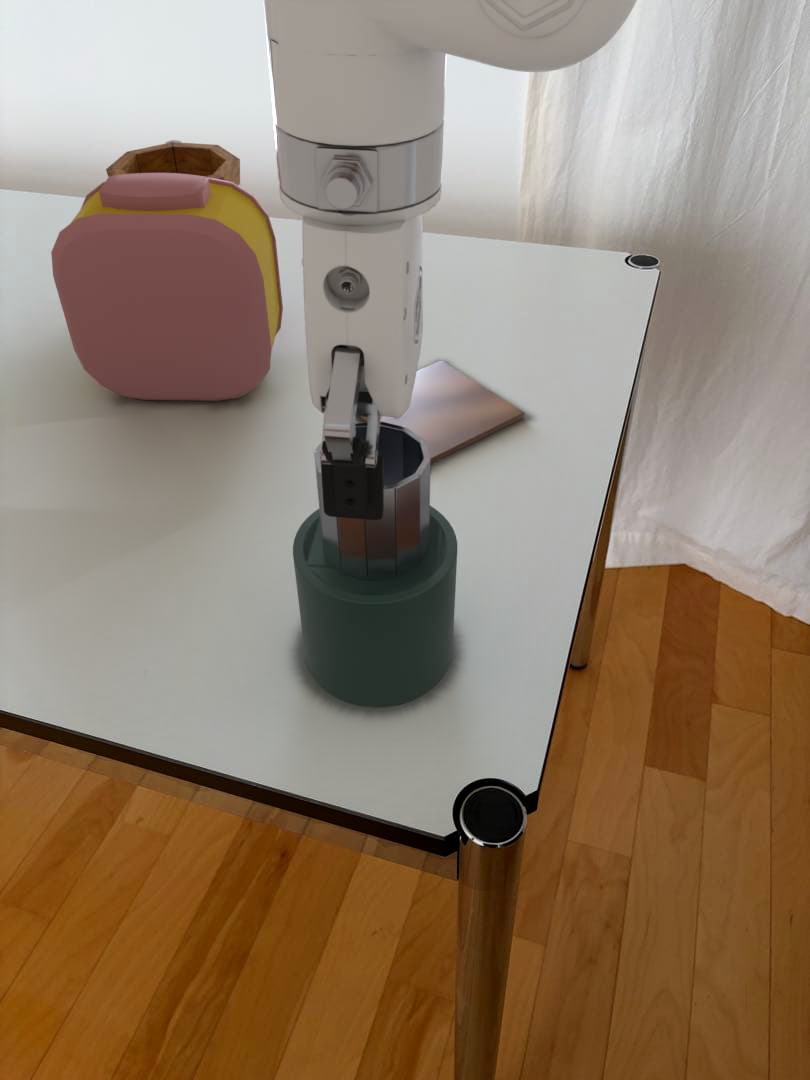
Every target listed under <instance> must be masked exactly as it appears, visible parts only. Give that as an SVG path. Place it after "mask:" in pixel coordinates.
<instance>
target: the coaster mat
mask: <svg viewBox="0 0 810 1080" xmlns="http://www.w3.org/2000/svg"><path fill="white" fill-rule="evenodd" d="M358 417H359V418H360V419H362V420H363V421H365V423H367V422H368V417H360V416H358ZM524 417H525V412H524V411H523V410H521V409H520V408H519V407H517V406H515V405H514V404H512V403H510V402H509V401H507V400H506V399H504V398H502V397H501V396H500V395H498V394H497V393H495V392H493V391H491V390H490V389H488V388H487V387H485V386H483V385H482V384H481V383H479V382H478V381H475V380H474V379H473V378H471V377H469V376H468V375H466V374H464V373H463V372H461V371H459V370H458V369H456V368H455V367H454V366H452V365H450V364H448V363H447V362H445V361H444V360H439V361H437V362H434V363H432V364H430V365H427V366H425V367H423V368H420V369H417V373H416V378H415V383H414V388H413V393H412V398H411V402H410V406H409V409H408V411H407V412H406V413H405V414H404V415H403V416H402V417H400V418H394V417H386V416H381V419H380V422H385V423H390V424H394V425H399V426H403V427H406V428H408V429H410V430H411V431H413V432H414V433H415V434H417V435H418V436H420V437H421V438H422V439H424V440H425V441H426V444H427V447H428V451H429V454H430V458H431V464H430V465H432V464H434V463H436V462H438V461H439V460H442V459H443V458H445V457H448V456H450V455H451V454H454V453H455V452H457V451H459V450H461V449H463V448H465V447H467V446H469V445H471V444H473V443H475V442H477V441H479V440H481V439H484V438H486V437H488V436H489V435H491V434H494V433H496V432H498V431H499V430H502V429H504V428H505V427H507V426H509V425H511V424H514V423H515V422H518V421H519V420H521V419H523V418H524Z"/></svg>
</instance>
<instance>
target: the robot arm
mask: <svg viewBox="0 0 810 1080" xmlns="http://www.w3.org/2000/svg"><path fill="white" fill-rule="evenodd" d="M637 1H638V0H263V8H264V10H263V11H264V22H265V23H264V24H265V33H266V46H267V47H266V48H267V59H268V70H269V83H270V93H271V106H272V119H273V130H274V141H275V143H274V144H275V155H276V165H277V178H278V191H279V198H280V201H281V202H282V204H283V205H284V206H285V207H286V208H287V209H289V210H290V211H291V212H293V213H295V214H297V215H298V216H301V221H302V222H301V223H302V226H301V228H302V229H301V231H302V258H301V266H302V275H303V276H302V278H303V280H302V281H303V282H302V283H303V306H304V307H303V309H304V324H305V325H304V329H305V330H304V332H305V346H306V361H307V362H306V363H307V373H308V383H309V391H310V397H311V398H310V399H311V402H312V405H313V406H314V407H315V408H316V409H317V411H318V412H320V413H321V414H323V424H322V435H321V442H322V449H321V457H320V459H321V474H322V489H323V504H324V512H325V514H326V515H328V516H331V517H342V518H354V519H367V520H380V519H381V518H382V516H383V511H384V456H378V445H379V432H380V419H381V416H386V417H394V418H400V417H402V416H403V415H404V414H405V413H406V412H407V411H408V409H409V406H410V402H411V398H412V393H413V388H414V383H415V378H416V373H417V371H418V367H419V361H420V355H421V349H422V343H423V333H424V309H423V307H424V306H423V305H424V304H423V303H424V300H423V299H424V298H423V274H424V273H423V269H424V267H423V264H424V263H423V259H424V257H423V256H424V255H423V251H424V250H423V249H424V248H423V246H424V245H423V241H424V240H423V239H424V236H423V234H424V233H423V214H425V213H427V212H429V211H430V210H431V209H433V208H434V207H436V206H437V205H438V203H439V202H440V201H441V197H442V184H443V183H442V180H443V159H444V158H443V156H444V131H445V119H444V118H445V102H446V101H445V98H446V97H445V96H446V74H447V73H446V71H447V55H450V56H454V57H457V58H460V59H464V60H468V61H472V62H475V63H478V64H482V65H485V66H491V67H493V68H499V69H504V70H508V71H514V72H523V73H546V72H547V73H548V72H554V71H558V70H562V69H567V68H569V67H571V66H574V65H576V64H578V63H580V62H583V61H585V60H587V59H588V58H590V57H592V56H593V55H595V54H596V53H597V52H598V51H600V50H601V49H602V48H604V47H605V46H606V45H607V44H608V43H609V42H610V41H611V40H612V39H613V38H614V37H615V35H616V34H617V33H618V32H619V30H620V29H621V28H622V26H623V25H624V24H625V22H626V21H627V19H628V18H629V17H630V14H631V13H632V11H633V9H634V7H635V5H636V3H637ZM359 416H360V417H359ZM357 417H359V418H361V417H368V422H366V423H367V435H366V443H365V441H364V440H363V439H362V437H355V436H356V427H355V424H356V419H357Z"/></svg>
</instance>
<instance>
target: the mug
mask: <svg viewBox="0 0 810 1080" xmlns="http://www.w3.org/2000/svg"><path fill="white" fill-rule="evenodd" d="M105 172H106V175H107V178H108V177H109V176H113V175H123V174H136V173H178V174H191V175H198V176H205V177H206V178H214V179H219V180H224V181H229V182H233V183H235V184H236V185H238V186H239V187H241V159H240V158H239V157H238V156H236V155H235V154H233V153H231V152H229V150H227V149H225V148H223V147H222V146H221V145H219V144H212V143H211V144H210V143H195V142H194V143H193V142H182V141H181V140H177V139H171V140H168V141H166V142H164V143H162V144H157V145H152V146H148V147H143V148H138V149H132V150H127V151H126V152H124V153H123V154H121V156H119V157H118V158H117V159H116V160H115V161H113V163H112V164H111V165H109V166H108V167H107V168H106V169H105Z"/></svg>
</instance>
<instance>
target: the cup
mask: <svg viewBox="0 0 810 1080" xmlns="http://www.w3.org/2000/svg"><path fill="white" fill-rule="evenodd" d="M355 427H356V436H355V437H362V439H363V440H364V441H365V443H366V435H367V422H358V423H356V422H355ZM321 449H322V441H320V443H319V444H318V446H317V447H316V448H315V450H314V452H313V455H314V456H313V457H314V467H315V477H316V490H317V500H318V509H319V513H320V524H321V535H322V544H323V552H324V555H325V557H326V558H327V560H328V561H329V563H330V564H331V565H332V566H333V567H334V568H336V569H337V570H338V571H340V572H342V573H344V574H346V575H348V576H351V577H354V578H358V579H364V580H384V579H390V578H393V577H397V576H400V575H402V574H404V573H406V572H408V571H410V570H411V569H413V568H414V567H415V566H416V565H418V564H419V562H420V561H421V560H422V559H423V557H424V555H425V553H426V550H427V547H428V545H429V514H430V506H431V465H432V464H431V458H430V454H429V451H428V447H427V444H426V441H425V440H424V439H422V438H421V437H420V436H418V435H417V434H415V433H414V432H413V431H411V430H410V429H408V428H406V427H403V426H399V425H394V424H390V423H385V422H380V432H379V445H378V456H384V511H383V516H382V518H381V519H380V520H367V519H354V518H342V517H331V516H328V515H326V514H325V512H324V504H323V489H322V474H321V459H320V457H321Z"/></svg>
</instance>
